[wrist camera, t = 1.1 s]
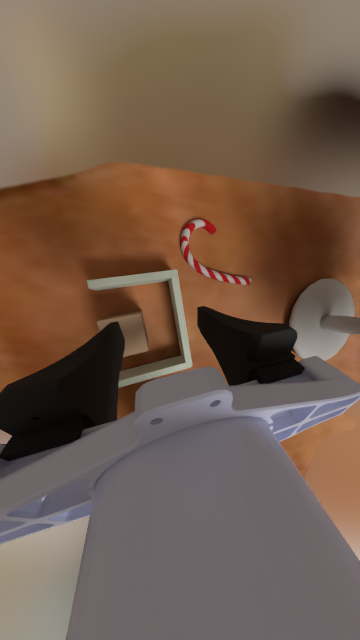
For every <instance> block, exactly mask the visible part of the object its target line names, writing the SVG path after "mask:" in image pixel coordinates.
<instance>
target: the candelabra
mask: <svg viewBox="0 0 360 640" xmlns="http://www.w3.org/2000/svg"><path fill="white" fill-rule="evenodd" d="M354 312H355V311H354V303H353V298H352V296H351V294H350V291H349V289H348V288H347V287H346V286H345V285H344V284H343V283H342V282H340V281H337V280H335V279H332V278H328V279H320V280H318V281H317V282H315V283H313V284H311V285H309V286H308V287H307V288H306V289H305V290H304V291H303V292H302V293H301V294H300V295H299V297H298V299H297V301H296V303H295V305H294V306H293V309H292V312H291V316H290V320H289V326H290V327H292V328H293V329H295V330H296V331H297V340H296V343H295V345H294V347H293V349H294V351H295V352H296V354H297V355H298V356H299V357H300V358H302V359H305V358H309V357H313V356H318V357H319V358H321V359H322V360H324V361H325V360H328V359H329V358H331V357H332V356H333V355H335V354H336V353H337V352H338V351H339V350H340V349H341V347H342V346H343V345H344V344H345V342H346V340H347V338H348V337H349V335H350V334H360V318H358V317H354Z"/></svg>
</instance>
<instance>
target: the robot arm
mask: <svg viewBox="0 0 360 640" xmlns="http://www.w3.org/2000/svg"><path fill="white" fill-rule="evenodd" d="M197 308H198V327H199V330H200V332H201V334H202V335H203V337H204V338H205V340H206V341H207V343H208V344H209V346H210V348H211V349H212V351H213V352H214V354H215V356H216V358H217V360H218V362H219V364H220V366H221V368H222V370H223V373H224V375H225V377H226V379H227V382H228V384H229V386H228V385H227V383H226V381H225V380H224V378H223V376H222V375H221V373H220V371H219V370H217V369H215V368H213V367H203V368H198V369H194V370H190V371H186V372H182V373H178V374H174V375H170V376H166V377H162V378H158V379H154V380H152V381H150V382H147V383H145V384H143V385H142V386H141V387H140V388H139V389H138V390H137V391H136V396H135V411H134V412H132V413H130V414H128V415H126V416H124V417H122V418H120V419H118V420H117V399H118V384H119V375H120V369H121V364H122V360H123V355H124V350H125V338H124V336H123V333H122V330H121V328H120V325H119V322H118V321H116V322H111V323H109V324H108V325H107V326H106V327H104V328H103V329H102V330H101V331H100V332H99V333H98V334H96V335H95V336H94V337H93V338H92V339H90V340H89V341H88V342H87V343H85V344H84V345H83V346H81V347H80V348H78V349H77V350H76V351H74V352H72V353H71V354H69V355H68V356H66V357H64V358H62V359H61V360H59V361H57V362H56V363H54V364H52V365H50V366H48V367H46V368H44V369H42V370H40V371H38V372H36V373H34V374H31V375H29V376H27V377H25V378H22V379H20V380H18V381H16V382H13V383H11V384H9V385H7V386H6V387H5V388H4V389H3V390H2V392H1V393H0V429H1V430H3V431H5V432H7V433H8V434H10V435H13V436H12V437H11V438H10V440H9V441H8V443H7V444H0V544H3V543H6V542H9V541H12V540H15V539H18V538H21V537H24V536H27V535H30V534H33V533H36V532H40V531H43V530H46V529H49V528H52V527H55V526H58V525H62V524H65V523H68V522H71V521H74V520H78V519H81V518H84V517H87V516H90V518H89V524H88V528H87V534H86V539H85V544H84V549H83V554H82V559H81V564H80V570H79V575H78V580H77V585H76V590H75V595H74V601H73V605H72V611H71V616H70V621H69V626H68V632H67V636H66V640H360V561H359V559H358V558H357V556H356V555H355V553H354V552H353V551H352V549H351V548H350V546H349V545H348V543H347V542H346V540H345V539H344V537H343V536H342V534H341V533H340V531H339V530H338V528H337V527H336V525H335V524H334V522H333V521H332V520H331V518H330V516H329V515H328V514H327V512H326V511H325V509H324V508H323V506H322V505H321V503H320V502H319V500H318V499H317V497H316V496H315V494H314V493H313V491H312V490H311V488H310V487H309V485H308V484H307V483H306V481H305V480H304V478H303V477H302V475H301V474H300V472H299V471H298V469H297V468H296V466H295V465H294V463H293V462H292V460H291V459H290V457H289V456H288V454H287V453H286V451H285V450H284V448H283V447H282V445H281V444H280V442H281V441H283V440H285V439H287V438H289V437H291V436H293V435H295V434H297V433H299V432H301V431H304V430H306V429H308V428H310V427H312V426H314V425H316V424H319V423H321V422H323V421H326V420H328V419H331V418H333V417H336V416H338V415H341V414H342V413H343V412H344V411H346V410H347V409H348V408H349V407H350V406H352V405H353V404H354V403H355V402H356V401H357V400H359V399H360V384H359V383H357V382H356V381H354V380H353V379H351V378H350V377H348V376H347V375H345V374H344V373H342V372H341V371H339V370H338V369H336V368H335V367H333V366H331V365H330V364H328V363H327V362H325V361H324V360H322V359H321V358H319V357H318V356H313V357H309V358H305V359H302V360H301V361H299V362H297V361H296V360H295V359H294V358H295V355H294V354H292V353H291V351H292V349H293V347H294V345H295V343H296V340H297V331H296V330H295V329H293V328H292V327H290V326H288V325H286V324H280V323H263V322H254V321H248V320H243V319H239V318H235V317H231V316H228V315H225V314H223V313H220V312H218V311H215V310H213V309H210V308H208V307H205V306H202V307H197Z"/></svg>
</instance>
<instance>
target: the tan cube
mask: <svg viewBox="0 0 360 640" xmlns="http://www.w3.org/2000/svg"><path fill="white" fill-rule="evenodd" d="M116 321H118V322H119V325H120V328H121V330H122V333H123V336H124V338H125V350H124V355H123V357H125V356H129V355H134V354H138V353H142V352H146V351H149V349H148V336H147V332H146V327H145V322H144V318H143V313H142V311H138V312H132V313H127V314H121V315H116V316H110V317H107V318H104V319H101V320H99V321H97V325H98V328H99V332H100V331H101V330H102V329H103V328H104V327H106V326H107V325H108V324H109V323H111V322H116Z"/></svg>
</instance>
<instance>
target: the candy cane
mask: <svg viewBox="0 0 360 640" xmlns="http://www.w3.org/2000/svg"><path fill="white" fill-rule="evenodd" d="M196 228H204V229H206V230H207V231H208V232H209V233H210V234H213V233H215V232H216V228H215V227H214V226H213V225H212V224H211V223H210V222H209V221H207V220H204V219H196V220H193V221H191V222H190V223H188V224H187V225H186V226H185V228H184V230H183V232H182V235H181V241H180V244H181V251H182V254H183V256H184V258H185V260H186V262H187V263H188V264H189V265H190V266H191V267H192V268H193V269H194V270H196V271H197V272H199V273H200V274H202V275H204V276H207V277H209V278H213V279H216V280H220V281H224V282H229V283H235V284H244V285H248V284H250V283H251V278H247V277H240V276H234V275H229V274H225V273H221V272H217V271H214V270H211V269H208V268H206V267H204V266H203V265H201V264H200V263H198V262H197V261H196V260H195V259H194V258H193V256H192V255H191V253H190V250H189V244H188V241H189V236H190V234H191V232H192V231H193V230H195V229H196Z"/></svg>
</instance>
